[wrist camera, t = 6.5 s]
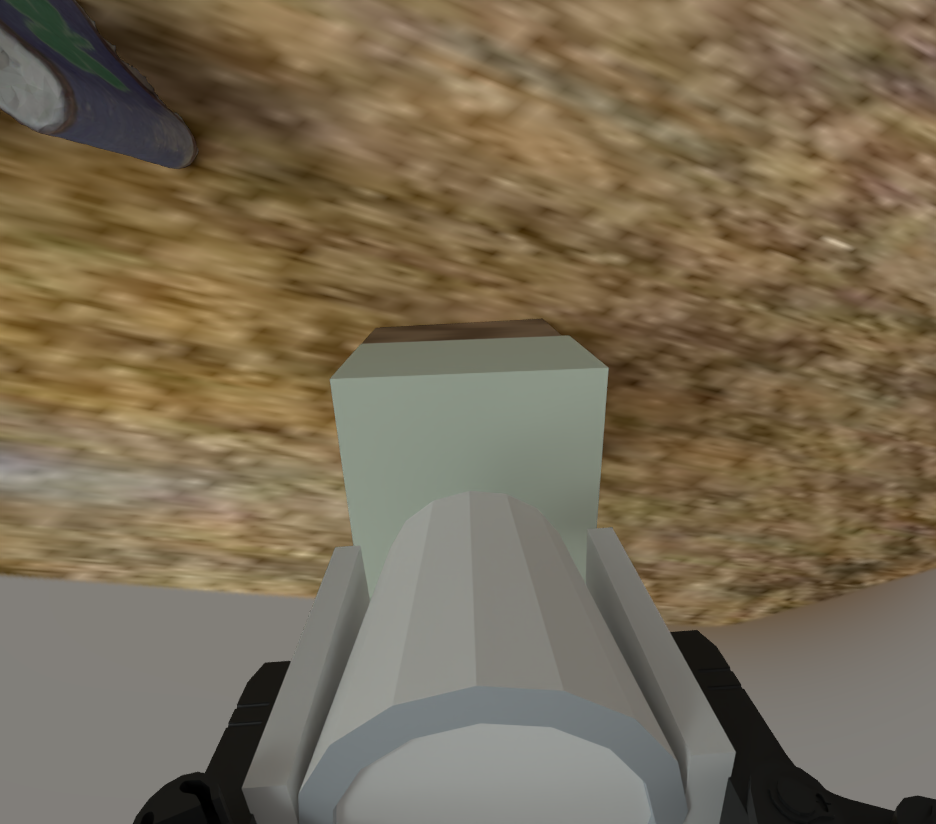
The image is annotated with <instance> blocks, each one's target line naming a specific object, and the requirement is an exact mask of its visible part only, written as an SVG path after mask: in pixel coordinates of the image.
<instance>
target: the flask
mask: <svg viewBox="0 0 936 824" xmlns="http://www.w3.org/2000/svg"><path fill="white" fill-rule="evenodd" d="M115 48H116V46H115V45H112V44H111V43H109V42H108V41H106V40H105V39H103V37H102V36H101V35H100V34H99V33H98V30H97V28H96V26H95V21H92V20H91V19H90V18H89V17H88V15H87V14H86V13H85V12H84V10H83V8H82V7H81V6H80V5H79V4H78V3H77V2H76V0H0V109H2V110H3V111H4V112H6V113H7V114H9V115H10V116H12V117H13V118H15V119H16V120H17V121H18V122H19V123H20V124H22V125H25V126H27V127H29V128H30V129H32V130H34V131H36V132H38V133H42V134H46V135H50V136H55V137H60V138H64V139H67V140H71V141H74V142H78V143H82V144H87V145H90V146H94V147H97V148H101V149H104V150H108V151H112V152H116V153H121V154H124V155H128V156H132V157H135V158H138V159H141V160H144V161H147V162H151V163H154V164H159V165H161V166H164V167H168V168H174V169H180V168H184V167H186V166H189V165H190V164H191V163H192V162H193V161H194V158H195V157H196V155H197V153H198V148H197V145H196V141H195V139H194V137H193V135H192V134H191V132H190V130H189V128H188V127H187V126H186V125H185V123H184V122H183V120H182V118H181V117H180V116H179V115H178V114H177V113H173V112H172V111H171V110H169V109H168V108H167V107H166V106H165V104H164V103H163V102H162V101H161V100H159V97H158V95H156V94H155V92H154V88H153V87H152V86H151V85H150V84H149V83H148V82H147V80H146V77H145V76H142V75H141V74H140V73H139V71H138V70H137V69H135V68H133V66H131V67H130V66H129V64H128V63H125V62H124V61H121V59H120V58H119V57H118V55H117V54H116V52H115Z"/></svg>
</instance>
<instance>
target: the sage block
mask: <svg viewBox="0 0 936 824" xmlns="http://www.w3.org/2000/svg"><path fill="white" fill-rule="evenodd" d="M608 369H609V368H608V367H607V366H606V365H605V364H603V363H602V362H601V361H600V360H599V359H597V358H596V357H595V356H594V355H592V354H591V353H590V352H589V351H588V350H586V349H585V348H584V347H583V346H581V345H580V344H579V343H578V342H577V341H575V340H574V339H573V338H572V337H570V336H545V337H520V338H494V339H469V340H444V341H419V342H393V343H368V344H360V345H359V347H358V348H357V349H356V350H355V351H354V352H353V353H352V355H351V356H350V357H349V358H348V359H347V360H346V361H345V362H344V364H343V365H342V366H341V367H340V368H339V369H338V370H337V371H336V373H335V374H334V375H333V376H332V377H331V378H330V384H331V391H332V398H333V405H334V412H335V419H336V426H337V433H338V440H339V447H340V454H341V461H342V468H343V475H344V482H345V489H346V496H347V503H348V510H349V517H350V524H351V531H352V538H353V545H354V546H359V545H360V546H361V552H362V557H363V563H364V569H365V574H366V580H367V586H368V592H369V597H370V601H371V598H372V595H373V593H374V590H375V587H376V585H377V582H378V579H379V577H380V574H381V571H382V569H383V566H384V563H385V560H386V558H387V555H388V552H389V550H390V547H391V546H392V544H393V542H394V540H395V539H396V537H397V535H398V533H399V532H400V530H401V528H402V527H403V525H404V523H405V521H406V520H408V519H409V518H410V517H412V516H413V515H414V514H416V513H417V512H418V511H420V510H421V509H423V508H424V507H425V506H427V505H428V504H429V503H431V502H432V501H434V500H437V499H441V498H444V497H448V496H452V495H455V494H459V493H463V492H467V491H478V492H490V493H503V494H508V495H510V496H512V497H514V498H516V499H518V500H520V501H522V502H525V503H527V504H529V505H531V506H533V507H535V508H537V509H538V510H539V511H540V512H541V513H542V514H543V515H544V516H545V518H546V519H547V520H548V521H549V522H550V523H551V524H552V525H553V527H554V528H555V529H556V530H557V531H558V532H559V534H560V536H561V538H562V540H563V542H564V544H565V546H566V547H567V549H568V551H569V553H570V555H571V557H572V559H573V561H574V563H575V565H576V567H577V569H578V571H579V572H580V574H581V576H582V578H583V580H584V582H585V584H586V552H587V529H596V528H597V516H598V502H599V489H600V476H601V462H602V449H603V435H604V422H605V409H606V395H607V382H608Z"/></svg>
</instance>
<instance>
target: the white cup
mask: <svg viewBox="0 0 936 824" xmlns="http://www.w3.org/2000/svg"><path fill="white" fill-rule="evenodd" d="M298 803H299V824H683V823H684V820H685V818H686V816H687V813H688V808H687V803H686V798H685V793H684V788H683V784H682V779H681V774H680V769H679V764H678V761H677V759H676V757H675V755H674V753H673V751H672V750H671V748H670V746H669V744H668V742H667V740H666V738H665V736H664V734H663V732H662V730H661V728H660V726H659V725H658V723H657V721H656V719H655V717H654V715H653V713H652V711H651V709H650V707H649V705H648V703H647V701H646V699H645V698H644V696H643V694H642V692H641V690H640V688H639V686H638V684H637V682H636V680H635V678H634V676H633V674H632V673H631V671H630V669H629V667H628V665H627V663H626V661H625V659H624V657H623V655H622V653H621V651H620V649H619V648H618V646H617V644H616V642H615V640H614V638H613V636H612V634H611V632H610V630H609V628H608V626H607V624H606V622H605V621H604V619H603V617H602V615H601V613H600V611H599V609H598V607H597V605H596V603H595V601H594V599H593V597H592V596H591V594H590V592H589V590H588V588H587V586H586V584H585V582H584V580H583V578H582V576H581V574H580V572H579V571H578V569H577V567H576V565H575V563H574V561H573V559H572V557H571V555H570V553H569V551H568V549H567V547H566V546H565V544H564V542H563V540H562V538H561V536H560V534H559V532H558V531H557V530H556V529H555V528H554V527H553V525H552V524H551V523H550V522H549V521H548V520H547V519H546V518H545V516H544V515H543V514H542V513H541V512H540V511H539V510H538V509H537V508H535V507H533V506H531V505H529V504H527V503H525V502H522V501H520V500H518V499H516V498H514V497H512V496H510V495H508V494H503V493H490V492H478V491H467V492H463V493H459V494H455V495H452V496H448V497H444V498H441V499H437V500H434V501H432V502H431V503H429V504H428V505H427V506H425V507H424V508H423V509H421V510H420V511H418V512H417V513H416V514H414V515H413V516H412V517H410V518H409V519H408V520H406V521H405V523H404V525H403V527H402V528H401V530H400V532H399V533H398V535H397V537H396V539H395V540H394V542H393V544H392V546H391V547H390V550H389V552H388V555H387V558H386V560H385V563H384V566H383V569H382V571H381V574H380V577H379V579H378V582H377V585H376V587H375V590H374V593H373V595H372V598H371V601H370V603H369V606H368V609H367V611H366V614H365V617H364V620H363V622H362V625H361V628H360V630H359V633H358V636H357V638H356V641H355V644H354V646H353V649H352V652H351V654H350V657H349V660H348V662H347V665H346V668H345V670H344V673H343V676H342V679H341V681H340V684H339V687H338V689H337V692H336V695H335V697H334V700H333V703H332V705H331V708H330V711H329V713H328V716H327V719H326V721H325V724H324V727H323V730H322V732H321V735H320V738H319V740H318V743H317V746H316V748H315V751H314V754H313V756H312V759H311V762H310V764H309V767H308V770H307V772H306V775H305V778H304V780H303V783H302V786H301V789H300V791H299V794H298Z"/></svg>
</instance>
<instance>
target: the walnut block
mask: <svg viewBox="0 0 936 824" xmlns="http://www.w3.org/2000/svg"><path fill="white" fill-rule="evenodd" d="M545 336H562V335H561V334H559V333H558V332H557V331H556V330H555V329H554V328H552V327H551V326H550V325H549V324H548V323H547V322H546V321H544V320H543V319H528V320H510V321H491V322H473V323H455V324H437V325H419V326H401V327H383V328H375V329H374V330H373V332H372V333H371V334H370V335H369V336H368V337H367V338H366V339H365V341H364V342H363V343H362V344H368V343H393V342H419V341H444V340H469V339H494V338H520V337H545Z"/></svg>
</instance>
